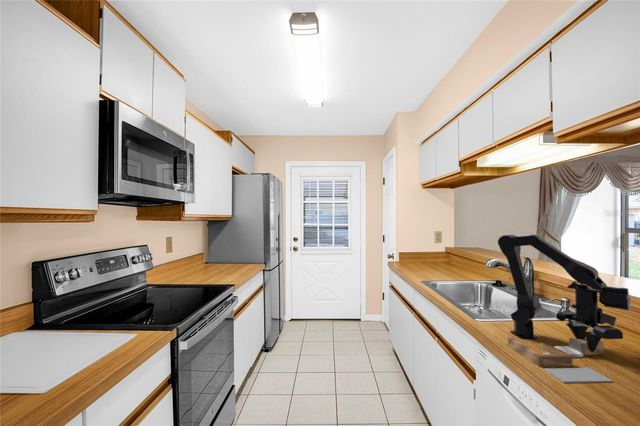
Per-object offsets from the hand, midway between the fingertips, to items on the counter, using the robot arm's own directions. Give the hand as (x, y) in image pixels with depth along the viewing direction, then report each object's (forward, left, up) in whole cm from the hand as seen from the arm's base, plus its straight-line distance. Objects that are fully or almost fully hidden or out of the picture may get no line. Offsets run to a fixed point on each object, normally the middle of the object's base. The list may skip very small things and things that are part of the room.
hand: (587, 349), depth 100 cm
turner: (0, -3, -1) cm, 3 cm away
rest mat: (+14, -16, -1) cm, 22 cm away
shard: (0, -13, -2) cm, 13 cm away
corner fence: (+1, -18, -1) cm, 18 cm away
